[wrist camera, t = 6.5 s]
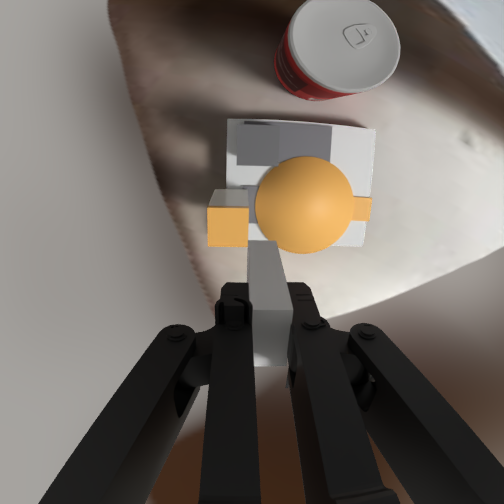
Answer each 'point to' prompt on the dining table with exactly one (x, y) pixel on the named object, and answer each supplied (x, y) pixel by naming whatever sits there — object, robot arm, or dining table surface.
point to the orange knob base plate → (302, 181)
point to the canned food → (336, 49)
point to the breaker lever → (228, 218)
